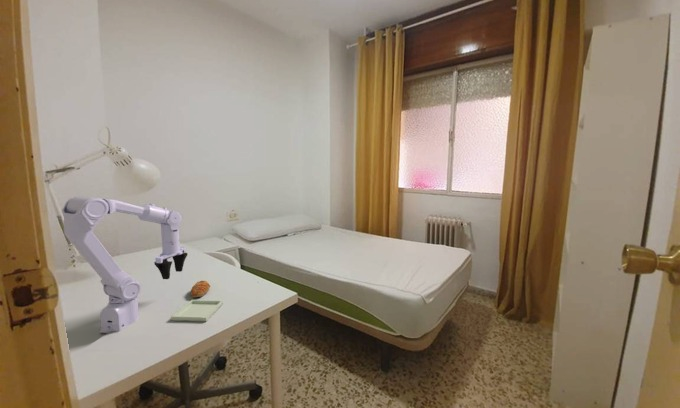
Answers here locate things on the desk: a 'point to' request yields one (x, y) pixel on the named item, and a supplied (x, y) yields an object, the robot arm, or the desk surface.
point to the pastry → (200, 289)
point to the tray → (197, 310)
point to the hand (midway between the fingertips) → (172, 274)
